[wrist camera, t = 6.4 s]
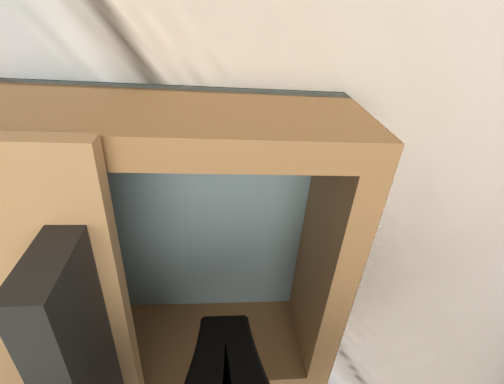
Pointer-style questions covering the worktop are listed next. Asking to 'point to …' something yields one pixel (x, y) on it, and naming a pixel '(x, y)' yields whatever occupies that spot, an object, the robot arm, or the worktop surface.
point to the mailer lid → (61, 265)
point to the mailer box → (230, 209)
